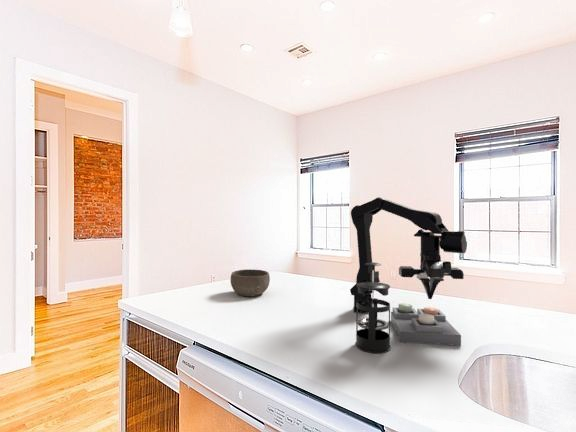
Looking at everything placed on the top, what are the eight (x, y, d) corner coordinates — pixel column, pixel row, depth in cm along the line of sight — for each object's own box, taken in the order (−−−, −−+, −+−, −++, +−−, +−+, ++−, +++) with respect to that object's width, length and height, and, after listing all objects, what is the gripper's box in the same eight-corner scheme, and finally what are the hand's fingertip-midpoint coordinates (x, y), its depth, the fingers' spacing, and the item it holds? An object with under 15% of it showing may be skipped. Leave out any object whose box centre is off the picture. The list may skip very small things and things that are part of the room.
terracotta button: (425, 316, 104) (425, 310, 104) (422, 312, 108) (422, 307, 108) (439, 317, 103) (439, 311, 103) (435, 313, 107) (435, 307, 107)
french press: (390, 356, 83) (390, 266, 83) (353, 351, 86) (353, 264, 86) (390, 339, 94) (391, 260, 94) (357, 335, 97) (358, 259, 97)
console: (400, 341, 93) (400, 326, 93) (391, 320, 111) (391, 307, 111) (460, 345, 90) (460, 329, 90) (440, 323, 109) (440, 309, 109)
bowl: (268, 299, 139) (268, 275, 139) (226, 299, 139) (226, 275, 139) (270, 289, 156) (270, 269, 156) (234, 289, 156) (234, 268, 156)
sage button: (399, 311, 105) (399, 306, 105) (397, 308, 110) (397, 302, 110) (413, 312, 105) (413, 306, 105) (410, 308, 109) (410, 303, 109)
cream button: (420, 323, 94) (420, 317, 94) (417, 319, 98) (417, 313, 98) (435, 324, 93) (435, 318, 93) (432, 320, 97) (432, 314, 97)
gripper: (404, 253, 99) (404, 304, 99) (470, 254, 96) (470, 307, 96) (398, 249, 110) (398, 295, 110) (457, 250, 107) (457, 297, 107)
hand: (429, 298), depth 106 cm, fingers closed
